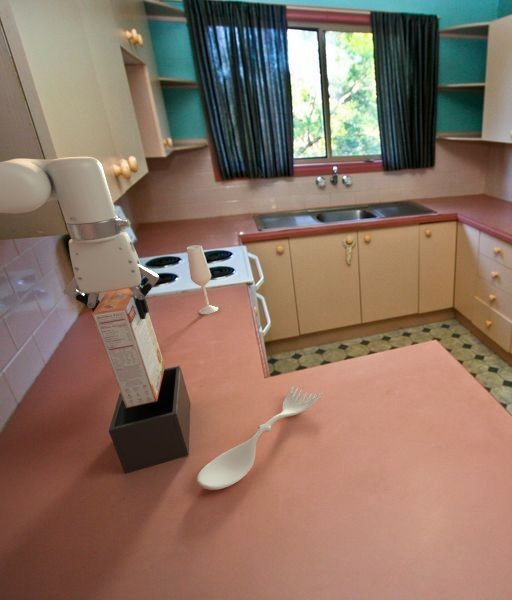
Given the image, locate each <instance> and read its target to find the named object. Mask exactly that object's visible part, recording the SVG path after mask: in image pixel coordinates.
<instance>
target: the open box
mask: <svg viewBox="0 0 512 600" xmlns="http://www.w3.org/2000/svg"><path fill="white" fill-rule="evenodd" d="M190 425H191V399H190V396H189V393H188V389H187V385H186V382H185V378H184V375H183V371H182V368H181V365H176V366H172V367H168V368H167V367H166V368H165V369H164V373H163V378H162V382H161V386H160V391H159V395H158V400H157V401H156V402H152V403H148V404H143V405H139V406H134V407H130V408H126V406H125V404H124V401H123V398H122V395H121V393H120V392H119V394H118V397H117V401H116V405H115V408H114V411H113V414H112V418H111V421H110V424H109V427H108V433H109V436H110V438H111V440H112V443H113V446H114V448H115V451H116V454H117V457H118V459H119V461H120V464H121V467H122V470H123V473H124V474H129V473H132V472H136V471H139V470H143V469H146V468H150V467H154V466H156V465H160V464H164V463H167V462H171V461H175V460H178V459H181V458H184V457H188V456H189V455H190V428H191V426H190Z"/></svg>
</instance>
